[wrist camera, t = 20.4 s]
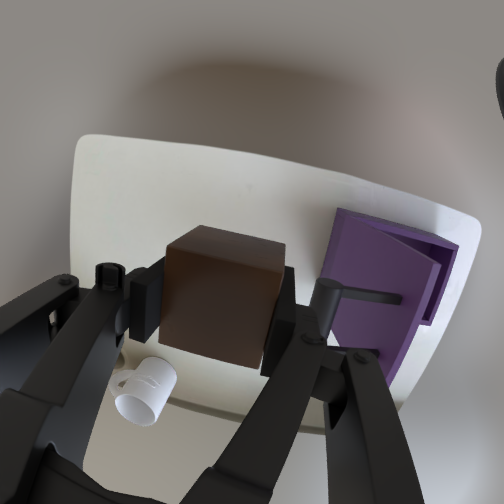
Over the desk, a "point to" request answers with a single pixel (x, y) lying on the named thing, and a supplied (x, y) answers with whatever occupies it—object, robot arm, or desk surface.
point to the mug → (143, 390)
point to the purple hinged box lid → (374, 294)
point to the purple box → (410, 236)
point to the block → (220, 294)
